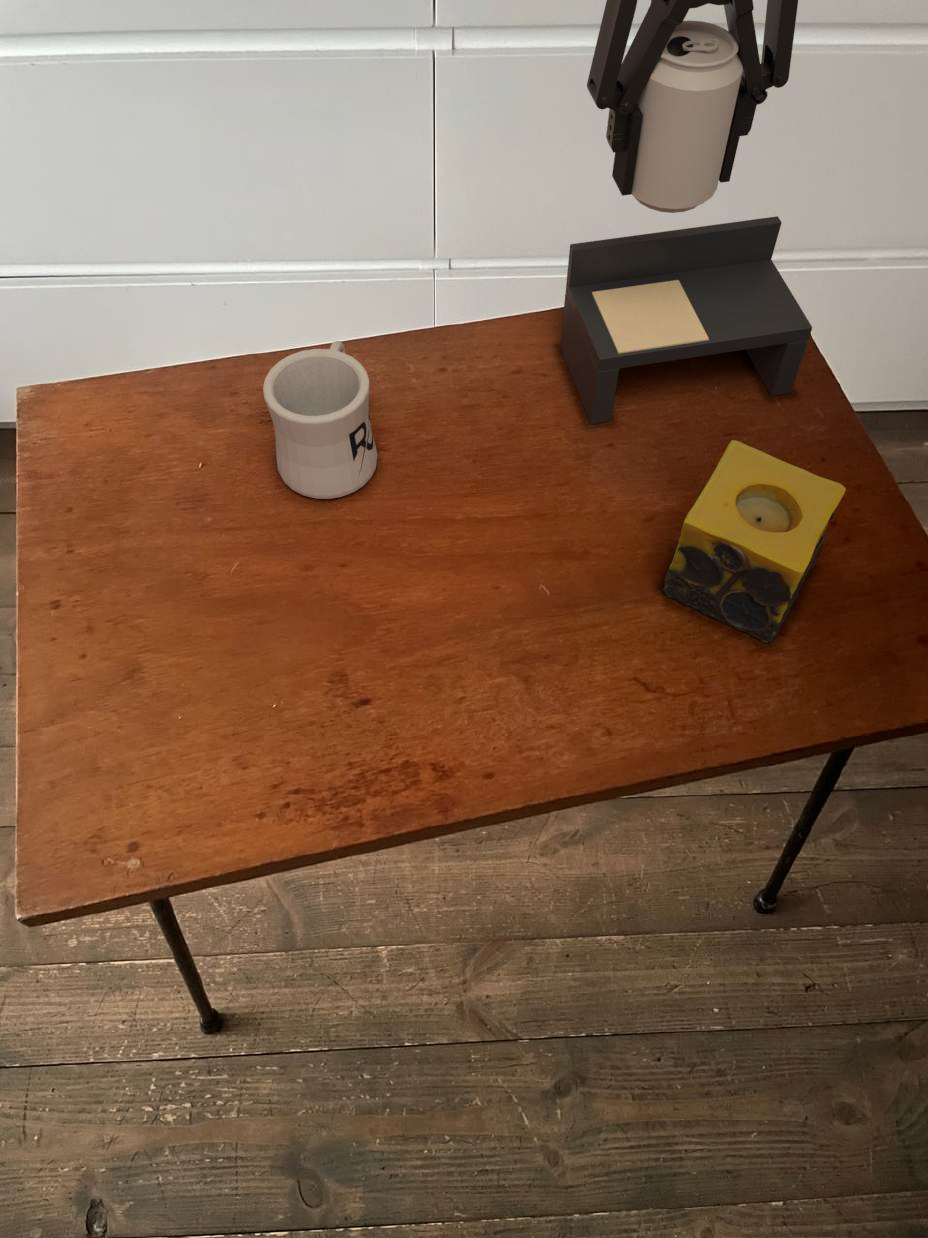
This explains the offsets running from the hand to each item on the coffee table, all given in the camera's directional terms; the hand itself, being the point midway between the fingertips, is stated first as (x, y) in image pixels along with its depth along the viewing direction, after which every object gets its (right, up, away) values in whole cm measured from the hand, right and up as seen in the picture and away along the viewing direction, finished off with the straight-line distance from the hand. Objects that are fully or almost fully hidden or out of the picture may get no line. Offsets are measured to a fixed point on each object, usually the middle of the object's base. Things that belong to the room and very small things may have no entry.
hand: (670, 178), depth 84 cm
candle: (+7, -32, +5) cm, 33 cm away
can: (0, -1, +1) cm, 1 cm away
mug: (-28, -20, +13) cm, 37 cm away
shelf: (+4, -11, +20) cm, 23 cm away
